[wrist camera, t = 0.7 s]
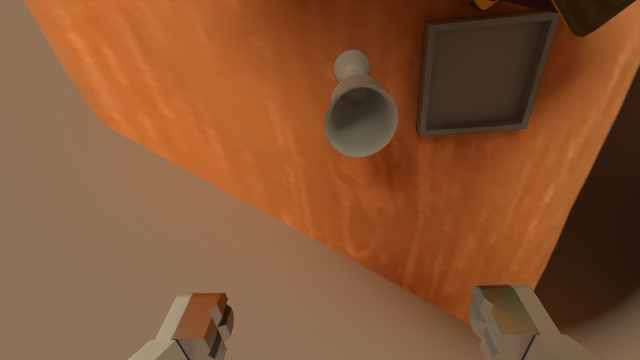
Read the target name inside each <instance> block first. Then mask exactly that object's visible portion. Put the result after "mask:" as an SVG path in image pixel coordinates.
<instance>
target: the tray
mask: <svg viewBox="0 0 640 360" xmlns="http://www.w3.org/2000/svg"><path fill="white" fill-rule="evenodd" d="M559 19H560V15H559V14H558V13H554V12H549V11H545V10H537V11H527V12H517V13H507V14H498V15H488V16H478V17H468V18H459V19H449V20H439V21H429V22H425V27H424V39H423V51H422V63H421V75H420V87H419V99H418V112H417V124H416V130H417V132H418V134H419V136H432V135H447V134H461V133H475V132H489V131H503V130H517V129H526V128H527V124H528V121H529V118H530V114H531V111H532V108H533V105H534V101H535V98H536V95H537V91H538V88H539V85H540V81H541V78H542V75H543V72H544V68H545V65H546V62H547V58H548V55H549V52H550V48H551V45H552V42H553V38H554V35H555V32H556V29H557V25H558V22H559Z"/></svg>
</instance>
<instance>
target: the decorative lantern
mask: <svg viewBox="0 0 640 360" xmlns="http://www.w3.org/2000/svg"><path fill="white" fill-rule="evenodd" d="M497 1H498V0H470V5H471V7H473V8H474V9H476V10H478V11H483V10H486V9H487V8H489V7H490V6H492V5H493V4H494V3H495V2H497ZM501 1H505V2H510V3H514V4H519V5H523V6H527V7H532V8H536V9H541V10H545V11H549V12H554V13H558V14H559V15H560V17H561V18H562V20H563V22H564V24H565V25H566V27H567V29H568V30H569V31H570V32H571V33H572V34H573V35H574V36H577V37H584V36H586V35H588V34H590V33H591V32H593V31H595V30H596V29H598V28H599V27H601V26H602V25H603V24H605V23H606V22H607V21H609V20H610V19H611V18H613V17H614V16H615V15H617V14H618V13H620V12H621V11H622V10H624V9H625V8H626V7H628V6H629V5H630V4H632V3H633V2H634V1H636V0H501Z"/></svg>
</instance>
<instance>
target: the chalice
mask: <svg viewBox="0 0 640 360" xmlns="http://www.w3.org/2000/svg"><path fill="white" fill-rule="evenodd" d="M369 71H370V63H369V60H368V58H367V56H366V55H365V54H364V53H363V52H361V51H359V50H353V49H351V50H347V51H345V52H343V53H341V54H340V55H339V56H338V58H337V59H336V61H335V64H334V74H335V77H336V79H337V80H338V81H339V82H340V83H339V84H338V85H337V86H336V87H335V89H334V91H333V93H332V95H331V99H330V104H329V106H328V109H327V111H326V113H325V118H324V130H325V135H326V138H327V139H328V141H329V143H330V144H331V146H332V147H333V148H335V149H336V150H337V151H338V152H339V153H342V154H344V155H347V156H349V157H365V156H369V155H372V154H374V153H376V152H378V151H380V150H382V149H383V148H384V147H385V146H386V145H387V144H388V143H389V142H390V141H391V139H392V137H393V136H394V134H395V132H396V129H397V125H398V121H399V120H398V109H397V106H396V104H395V101H394V99H393V98H392V97H391V96H390V95H389V94H388V93H387V92H386V91H385V90H384V89H383V87H382V85H381V84H380V83H379V82H378V81H377V80H376V79H375V78H373V77H371V76H369Z"/></svg>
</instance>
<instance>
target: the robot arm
mask: <svg viewBox="0 0 640 360" xmlns="http://www.w3.org/2000/svg"><path fill="white" fill-rule="evenodd" d="M472 294H473V296H474V299H473V300H472V301H471V302H470V304H469V309H468V310H469V319H470V323H471V326H472V329H473V332H474V333H475V334H476V335H477V336H478V337H480V338H481V339H482V340H481V344H480V346H479V347H480V350H481V352H482V355H483V357H484V360H601V359H599V358H598V357H596V356H595V355H594V354H592V353H591V352H590V351H588V350H587V349H585V348H584V347H583V346H581V345H580V344H578V343H577V342H576V341H574V340H573V339H572V338H570V337H569V336H567V335H561V334H560V332H559V331H558V329H557V328H556V326H555V324H554V323H553V321H552V320H551V318H550V317H549V315H548V314H547V312H546V310H545V309H544V307H543V306H542V304H541V303H540V301H539V299H538V298H537V296H536V295H535V293H534V292H533V290H532V288H531V287H530V286H528V285H525V284H523V285H486V286H475V287H474V289H473V292H472ZM227 300H228V298H227V296H226V294H225V293H181V294H179V295H178V296H177V297H176V299H175V301H174V303H173V305H172V307H171V309H170V311H169V313H168V315H167V317H166V319H165V321H164V323H163V325H162V327H161V329H160V331H159V333H158V335H157V337H156V339H155V340H150V341H149V342H148V343H147V344H146V345H144V346H143V347H142V348H141V349H140V350H139V351H138V352H136V353H135V354H134V355H133V356H132V357H131V358H129V359H128V360H224V357H225V353H226V350H227V348H226V346H225V344H224V342H225V341H226V340H227V339H228V338H229V337H230V336H231V333H232V329H233V322H234V316H233V311H232V308H231V307H230V306H229V305H227Z"/></svg>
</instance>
